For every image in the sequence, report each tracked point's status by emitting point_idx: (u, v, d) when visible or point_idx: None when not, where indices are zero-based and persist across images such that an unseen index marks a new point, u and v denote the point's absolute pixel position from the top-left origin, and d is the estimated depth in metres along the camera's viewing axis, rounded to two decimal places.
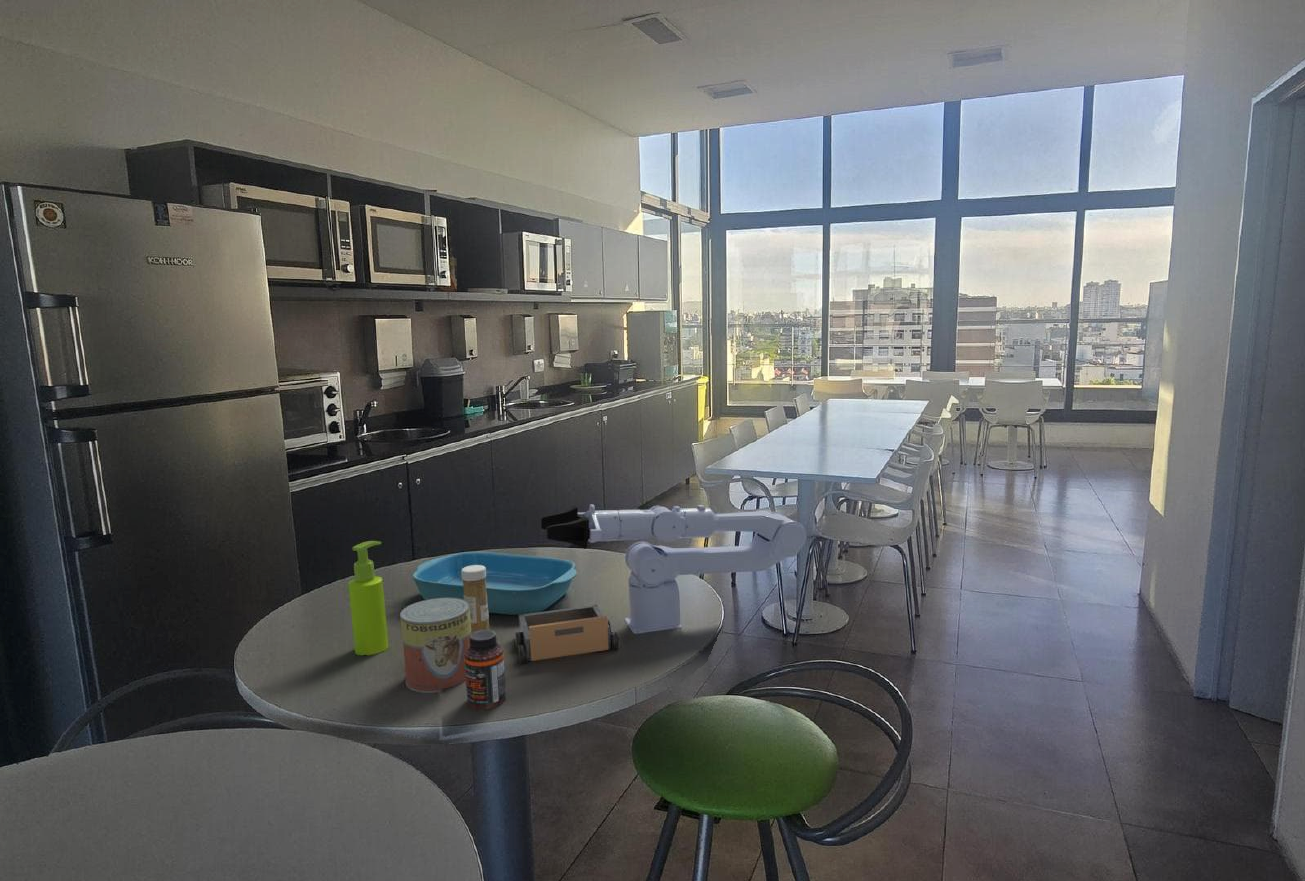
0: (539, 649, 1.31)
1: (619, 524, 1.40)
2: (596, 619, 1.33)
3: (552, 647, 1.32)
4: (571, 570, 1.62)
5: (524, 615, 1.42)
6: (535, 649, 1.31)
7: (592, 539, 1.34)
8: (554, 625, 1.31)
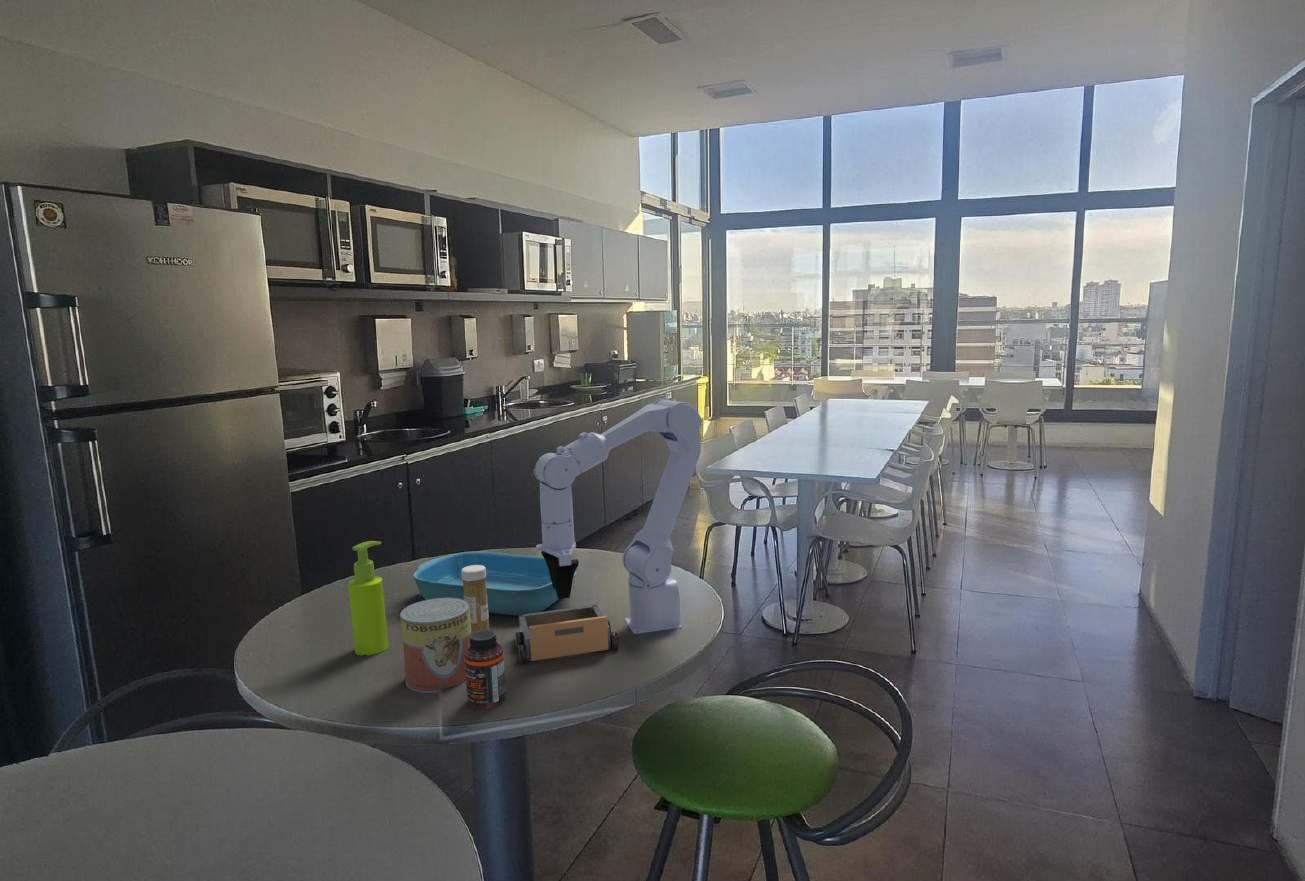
0: (539, 649, 1.31)
1: (555, 524, 1.33)
2: (596, 619, 1.33)
3: (552, 647, 1.32)
4: None
5: (524, 615, 1.42)
6: (535, 649, 1.31)
7: (569, 563, 1.30)
8: (554, 625, 1.31)
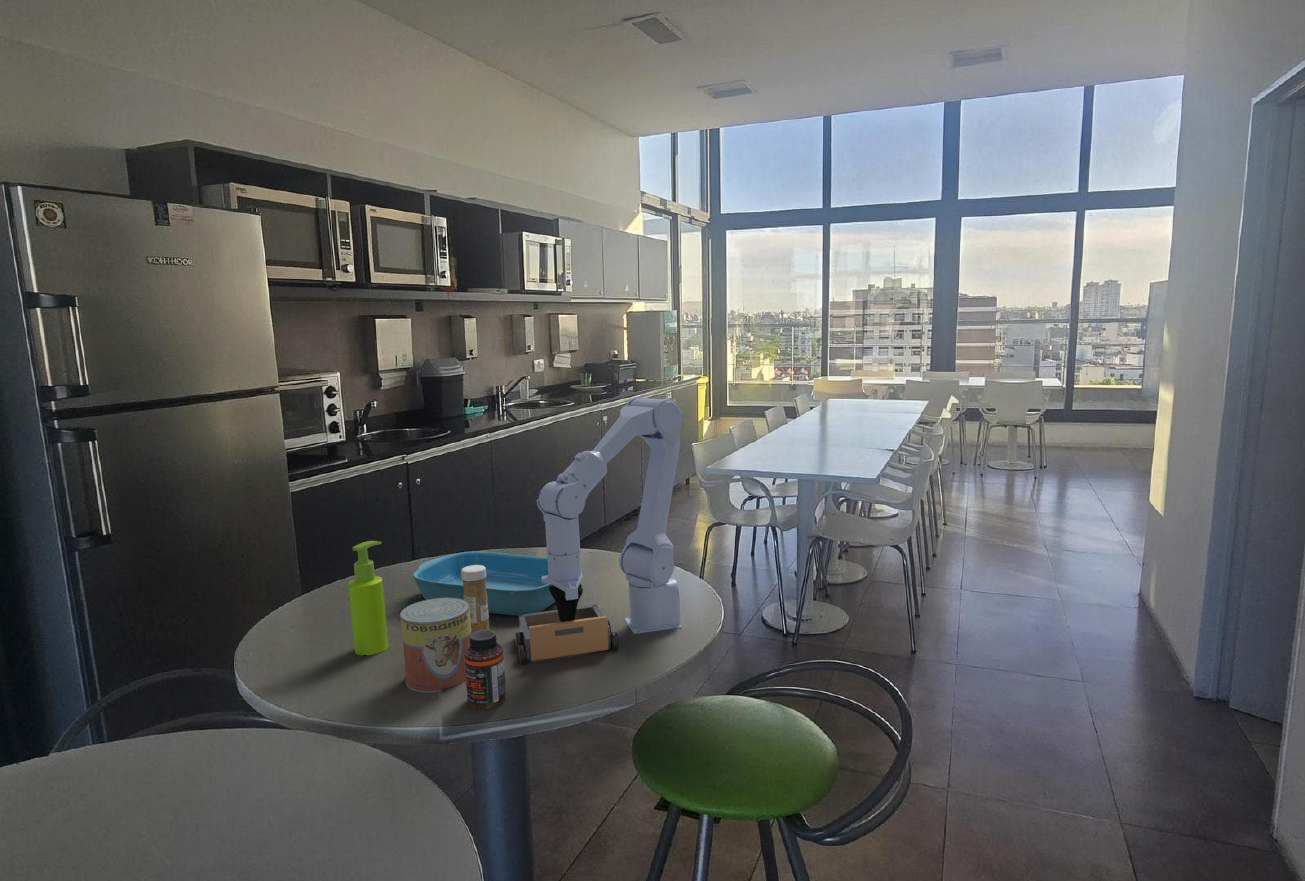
0: (539, 649, 1.31)
1: (561, 556, 1.28)
2: (596, 619, 1.33)
3: (552, 647, 1.32)
4: None
5: (524, 615, 1.42)
6: (535, 649, 1.31)
7: (575, 597, 1.25)
8: (554, 626, 1.31)
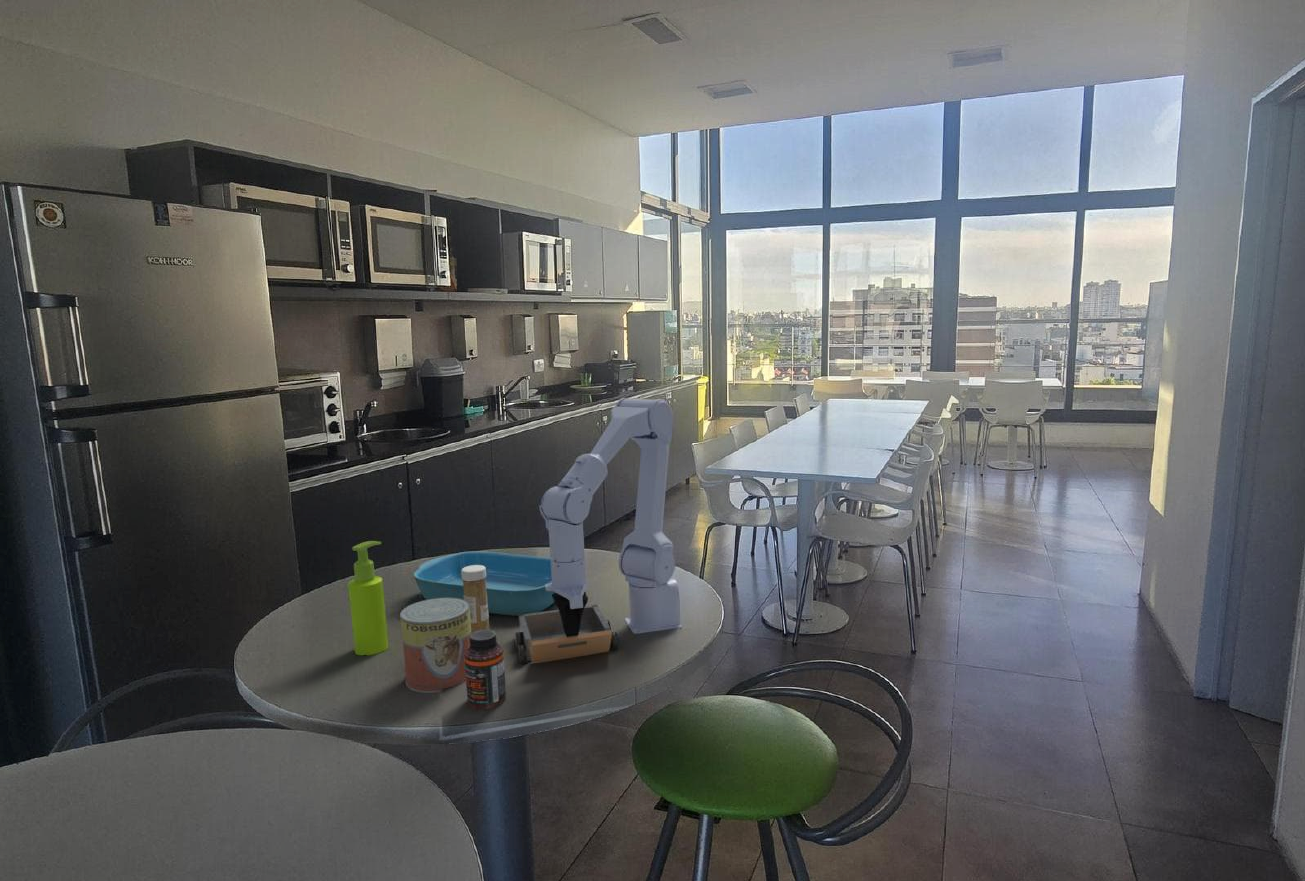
0: (540, 656, 1.30)
1: (565, 563, 1.24)
2: (601, 635, 1.30)
3: (553, 654, 1.30)
4: None
5: (524, 615, 1.42)
6: (536, 656, 1.30)
7: (580, 606, 1.21)
8: (558, 642, 1.28)
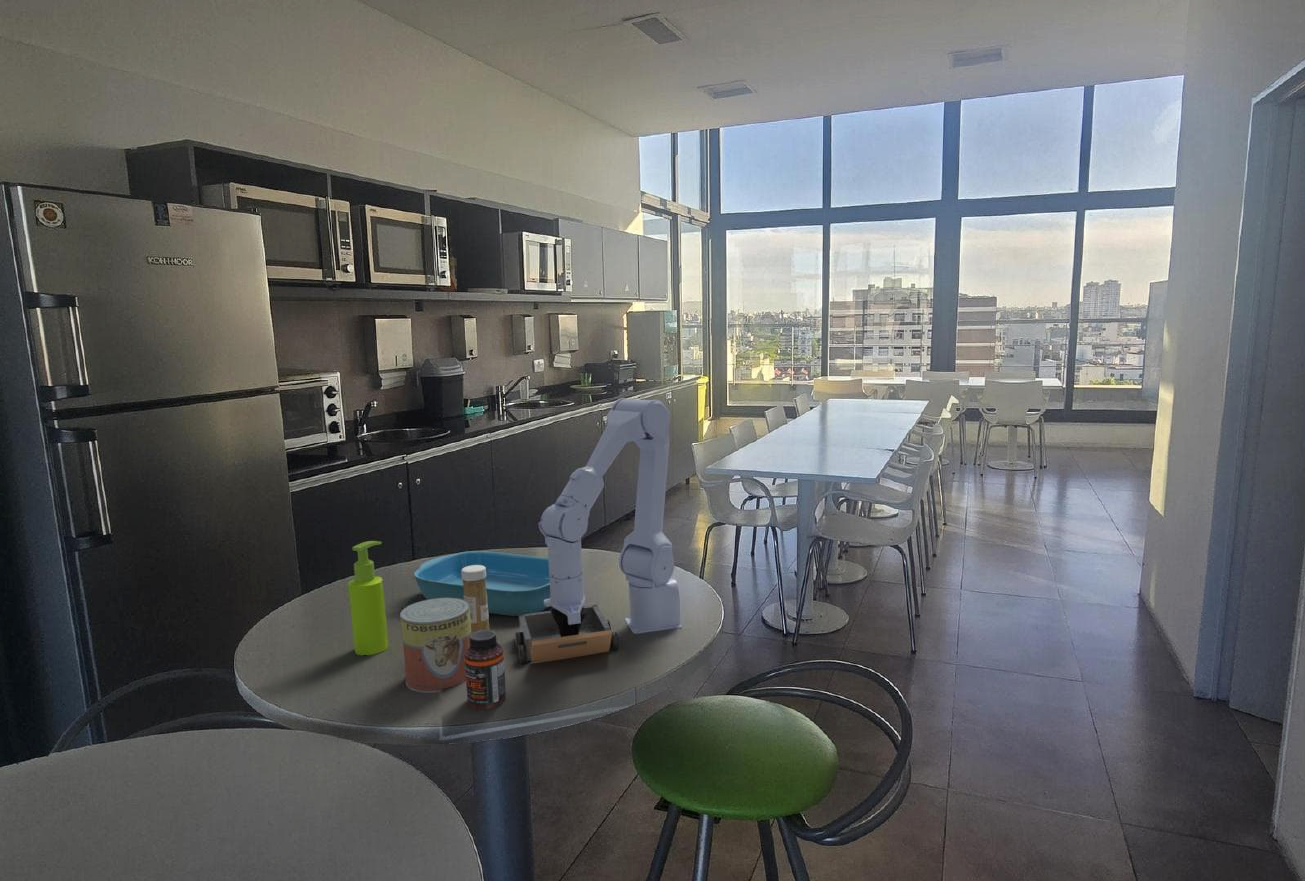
0: (540, 656, 1.30)
1: (563, 579, 1.28)
2: (601, 635, 1.30)
3: (553, 654, 1.30)
4: None
5: (524, 615, 1.42)
6: (536, 656, 1.30)
7: (578, 621, 1.25)
8: (558, 642, 1.28)
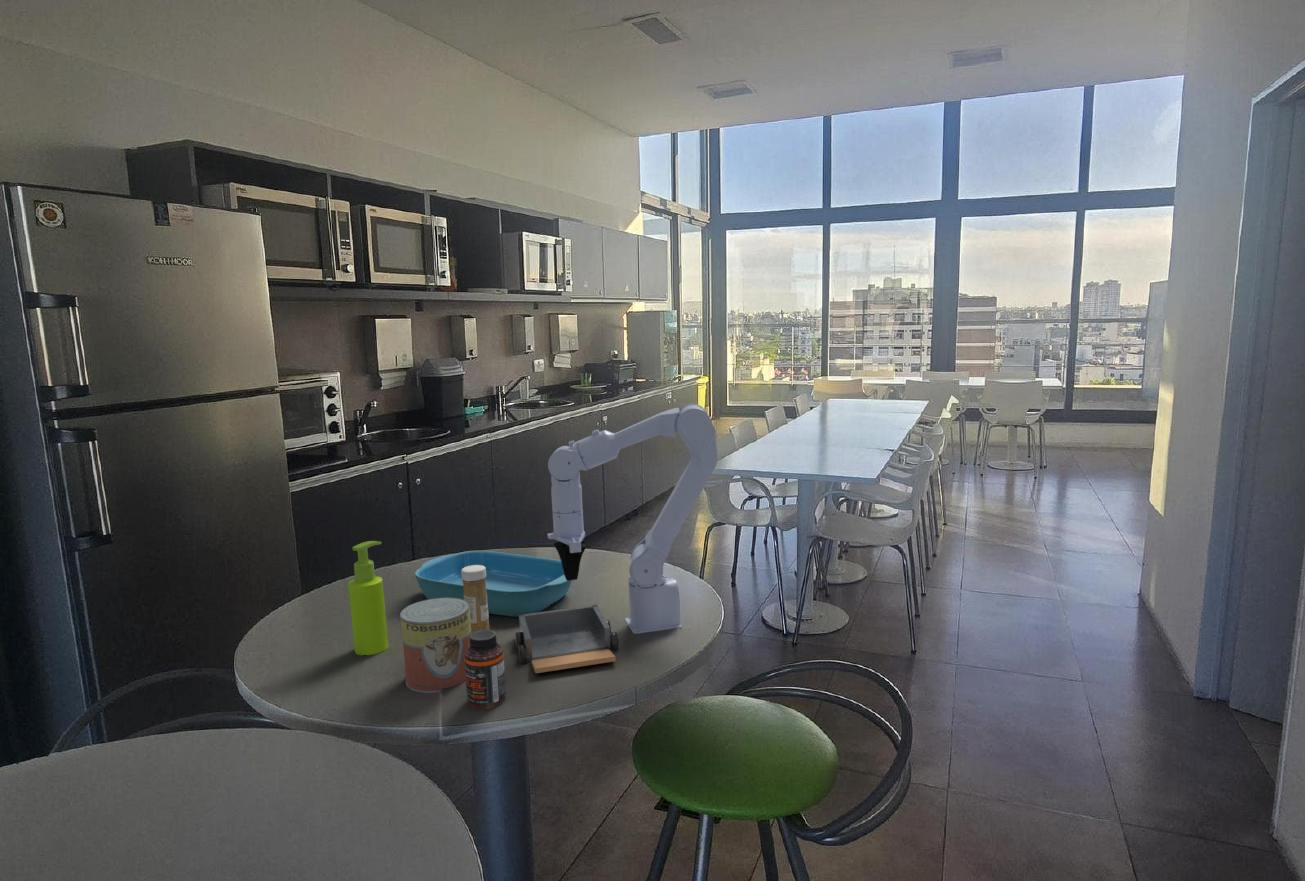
0: None
1: (565, 514, 1.41)
2: (604, 662, 1.28)
3: None
4: None
5: (524, 615, 1.42)
6: None
7: (579, 550, 1.38)
8: None
